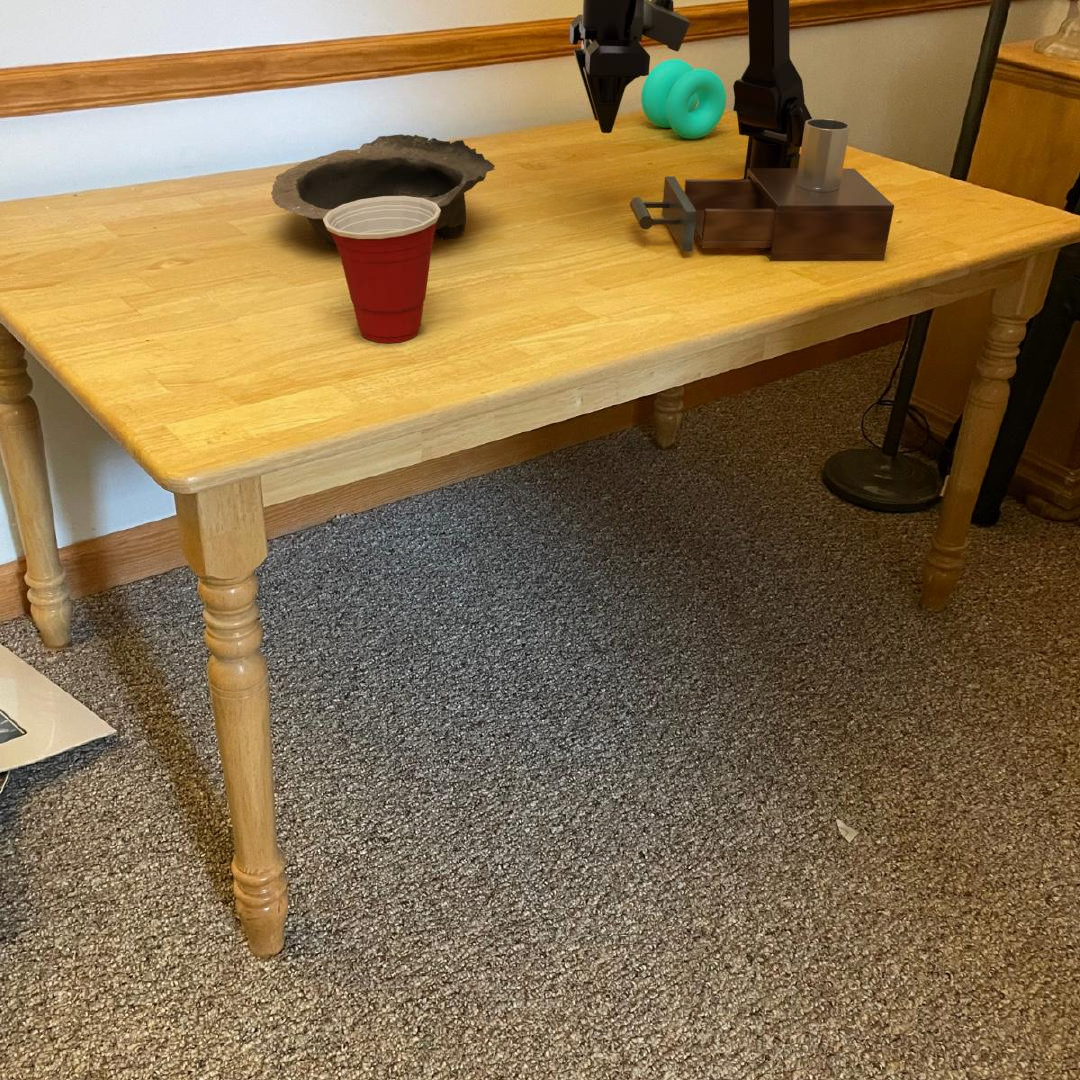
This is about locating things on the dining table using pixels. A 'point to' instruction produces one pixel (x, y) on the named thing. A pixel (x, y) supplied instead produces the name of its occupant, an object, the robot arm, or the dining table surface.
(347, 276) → the plastic cup
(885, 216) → the cabinet
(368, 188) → the stone bowl
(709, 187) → the drawer
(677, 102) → the teal yo-yo
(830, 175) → the cup
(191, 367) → the dining table surface
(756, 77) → the robot arm
